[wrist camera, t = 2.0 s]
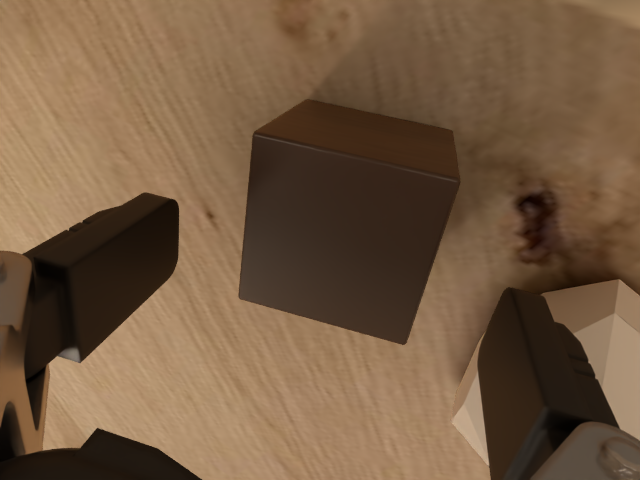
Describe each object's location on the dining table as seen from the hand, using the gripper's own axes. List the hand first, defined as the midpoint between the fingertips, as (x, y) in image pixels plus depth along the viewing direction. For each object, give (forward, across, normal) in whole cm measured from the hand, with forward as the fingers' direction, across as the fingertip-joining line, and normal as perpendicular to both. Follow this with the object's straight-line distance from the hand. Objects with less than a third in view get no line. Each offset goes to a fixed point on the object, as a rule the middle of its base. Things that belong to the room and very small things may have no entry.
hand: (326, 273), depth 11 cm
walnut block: (+6, 0, 0) cm, 6 cm away
